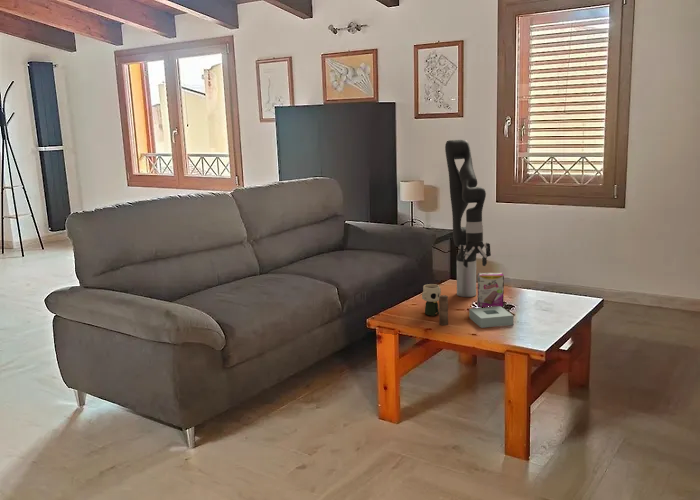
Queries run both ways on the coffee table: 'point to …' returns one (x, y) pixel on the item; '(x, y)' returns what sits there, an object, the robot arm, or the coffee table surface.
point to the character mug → (431, 298)
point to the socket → (491, 316)
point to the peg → (443, 310)
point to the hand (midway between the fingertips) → (475, 266)
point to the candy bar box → (490, 289)
